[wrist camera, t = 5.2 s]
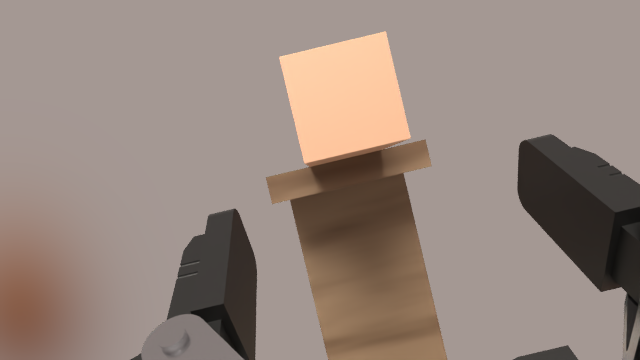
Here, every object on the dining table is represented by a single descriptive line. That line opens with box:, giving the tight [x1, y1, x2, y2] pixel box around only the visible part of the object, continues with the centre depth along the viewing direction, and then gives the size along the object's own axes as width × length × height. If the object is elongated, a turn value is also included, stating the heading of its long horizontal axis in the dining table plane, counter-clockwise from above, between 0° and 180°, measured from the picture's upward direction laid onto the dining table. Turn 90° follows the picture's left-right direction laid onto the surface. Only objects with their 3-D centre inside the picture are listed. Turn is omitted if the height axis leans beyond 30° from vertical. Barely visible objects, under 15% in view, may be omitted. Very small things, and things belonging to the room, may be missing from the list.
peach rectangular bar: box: [279, 32, 411, 167], centre depth 26 cm, size 21×4×4 cm, turn 0°
